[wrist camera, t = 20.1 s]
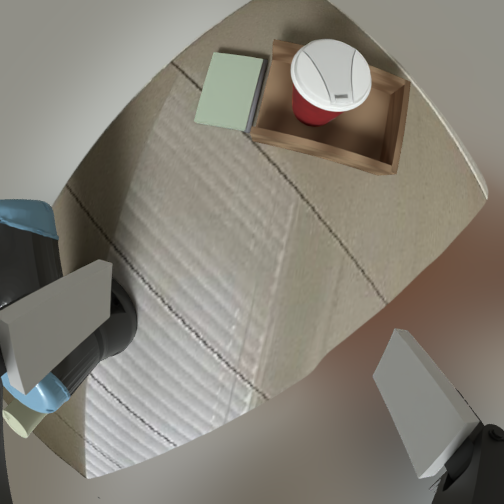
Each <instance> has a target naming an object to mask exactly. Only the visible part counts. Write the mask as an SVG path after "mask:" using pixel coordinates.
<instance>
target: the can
mask: <svg viewBox="0 0 504 504" xmlns="http://www.w3.org/2000/svg"><path fill="white" fill-rule="evenodd" d="M47 414H48V413H40V412H37V411H35V410H32V409H31V408H29V407H27V406H26V405H24V404H23V403H21V402H20V401H19V400H18V399H16V398H15V399H14V400H13V401H12V402H11V403H10V404H9V405H8V406H7V407H6V408H5V409H4V410H3V417H4V419H5V420H6V422H7V423H8V425H9V426H10V427H11V428H12V429H13V430H14V431H15V432H16V433H17V434H19V435H20V436H22V437H24V438H27V437H28V436H29V434H30V433H31V432H32V431H33V429H34V428H35V427H36V426H37V425H38V423H39V422H40V421H41V420H42V419H43V418H44V417H45V416H46V415H47Z"/></svg>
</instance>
